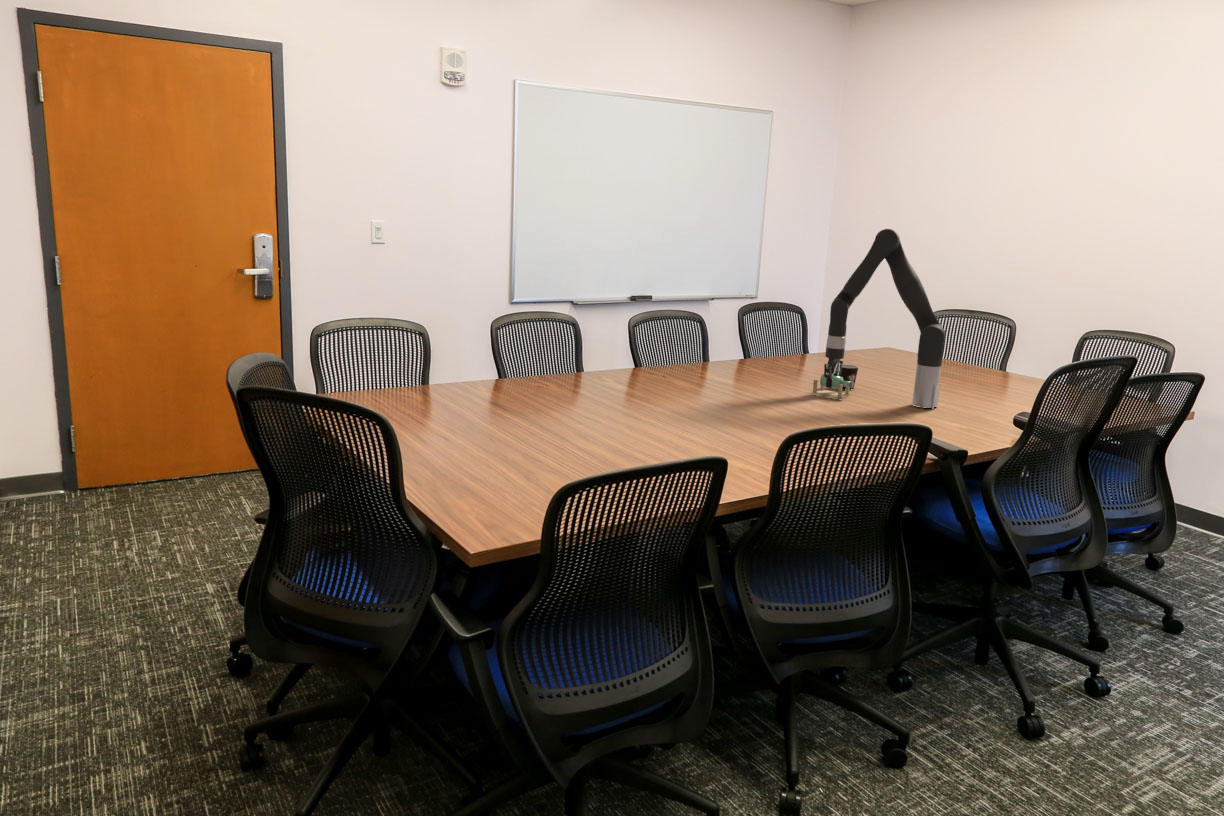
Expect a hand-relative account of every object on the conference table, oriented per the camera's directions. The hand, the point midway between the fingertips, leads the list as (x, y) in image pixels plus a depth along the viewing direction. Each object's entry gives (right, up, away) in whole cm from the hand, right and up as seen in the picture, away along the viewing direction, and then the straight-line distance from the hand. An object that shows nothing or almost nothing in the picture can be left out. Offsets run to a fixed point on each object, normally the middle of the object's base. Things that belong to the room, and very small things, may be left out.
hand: (831, 386), depth 364 cm
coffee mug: (+9, -1, +17) cm, 19 cm away
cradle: (0, -4, +1) cm, 4 cm away
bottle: (+2, -1, -1) cm, 2 cm away
